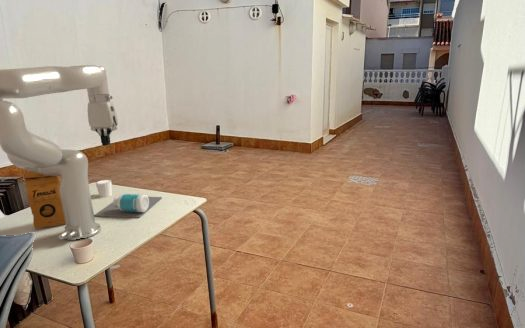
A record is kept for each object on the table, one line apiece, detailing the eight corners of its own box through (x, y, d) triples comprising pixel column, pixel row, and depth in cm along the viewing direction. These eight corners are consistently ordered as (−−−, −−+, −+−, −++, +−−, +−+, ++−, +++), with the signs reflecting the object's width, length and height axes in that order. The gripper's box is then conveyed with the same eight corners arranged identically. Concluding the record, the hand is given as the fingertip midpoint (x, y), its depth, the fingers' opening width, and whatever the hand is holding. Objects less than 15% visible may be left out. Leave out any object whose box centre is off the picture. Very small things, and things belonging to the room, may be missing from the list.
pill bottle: (144, 191, 141) (114, 190, 144) (138, 208, 137) (108, 206, 140) (151, 199, 147) (123, 197, 150) (146, 215, 144) (117, 213, 146)
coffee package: (68, 226, 133) (58, 172, 127) (31, 232, 129) (18, 176, 123) (72, 216, 142) (62, 165, 136) (37, 221, 138) (25, 169, 132)
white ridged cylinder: (102, 198, 161) (100, 184, 159) (95, 196, 165) (92, 182, 163) (116, 194, 166) (114, 180, 164) (108, 191, 170) (106, 178, 168)
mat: (139, 218, 139) (139, 216, 139) (94, 216, 141) (93, 215, 141) (161, 198, 160) (161, 197, 160) (121, 197, 162) (121, 196, 162)
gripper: (122, 97, 136) (128, 143, 141) (87, 98, 138) (94, 142, 143) (111, 99, 129) (118, 147, 134) (75, 100, 131) (83, 146, 136)
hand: (106, 144), depth 138 cm, fingers closed
